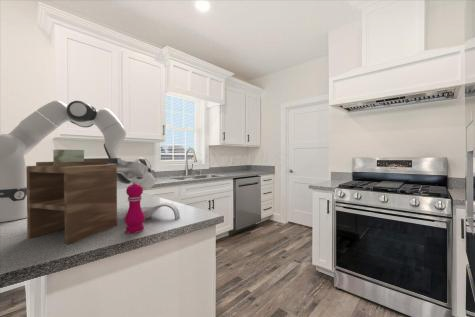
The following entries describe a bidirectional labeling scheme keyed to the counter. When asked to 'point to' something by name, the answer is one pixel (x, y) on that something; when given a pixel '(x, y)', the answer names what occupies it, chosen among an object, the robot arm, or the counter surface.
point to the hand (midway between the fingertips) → (113, 159)
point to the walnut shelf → (71, 198)
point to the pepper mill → (134, 209)
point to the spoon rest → (150, 210)
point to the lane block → (76, 157)
